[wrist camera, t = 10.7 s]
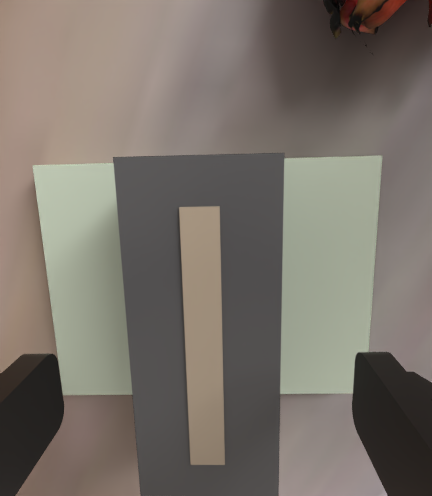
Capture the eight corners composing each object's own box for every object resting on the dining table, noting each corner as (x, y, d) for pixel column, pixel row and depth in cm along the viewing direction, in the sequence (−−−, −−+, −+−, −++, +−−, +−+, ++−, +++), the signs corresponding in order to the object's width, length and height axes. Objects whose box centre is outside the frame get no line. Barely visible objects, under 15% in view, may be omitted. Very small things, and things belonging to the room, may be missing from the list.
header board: (369, 156, 17) (417, 151, 13) (355, 376, 20) (391, 435, 16) (48, 165, 18) (-10, 164, 14) (74, 378, 20) (32, 436, 16)
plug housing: (263, 159, 16) (285, 152, 10) (262, 394, 19) (278, 500, 13) (153, 162, 16) (111, 157, 10) (167, 394, 19) (139, 499, 13)
